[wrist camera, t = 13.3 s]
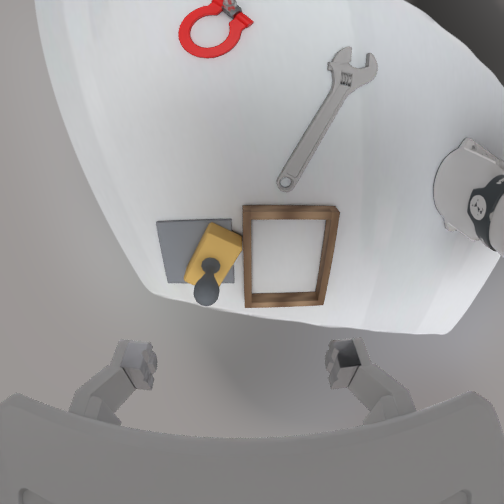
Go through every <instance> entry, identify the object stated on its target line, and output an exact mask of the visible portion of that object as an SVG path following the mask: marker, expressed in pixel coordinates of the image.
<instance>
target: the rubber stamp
mask: <svg viewBox="0 0 504 504" xmlns="http://www.w3.org/2000/svg"><path fill="white" fill-rule="evenodd" d="M241 251H242V236H240V235H238V234H236V233H234V232H232V231H230V230H228V229H225V228H223V227H221V226H219V225H217V224H215V223H213V222H211V223H209V224H208V226H207V228H206V230H205V232H204V234H203V236H202V238H201V240H200V242H199V244H198V246H197V248H196V250H195V252H194V254H193V256H192V258H191V260H190V262H189V264H188V266H187V268H186V271H185V275H184V281H185V282H188V283H190V284H192V285H195V287H194V297H195V299H196V301H197V302H198V303H199V304H201V305H203V306H209V305H212V304H213V303H215V302H216V301H217V299H218V296H219V286H220V285H221V283H222V281H223V280H224V278H225V276H226V275H227V273H228V272H229V270H230V268H231V267H232V265H233V264H234V262H235V260H236V259H237V257H238V256H239V254H240V252H241Z"/></svg>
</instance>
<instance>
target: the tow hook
mask: <svg viewBox="0 0 504 504" xmlns="http://www.w3.org/2000/svg"><path fill="white" fill-rule="evenodd" d="M222 11H223V12H225V13H226V14H228V15H229V16H230V17H232V18H233V20H232V21H231V22H229V26H230V32H229V35H228V37H227V39H226V40H225V41H224V42H223V43H221V44H220V45H218V46H215V47H211V48H203V47H200V46H197V45H196V44H194V42H193V41H192V39H191V37H190V31H191V27H192V26H193V24H194V23H195V22H196V21H197V20H198V19H200V18H202V17H204V16H208V15H218V14H219V13H220V12H222ZM253 22H254V21H252V20H251V19H250V18H248V17H247V16H246V15H245V14H243V13H242V10H241V8H240V7H239V6H238V5H237V2H236V0H212V3H211V4H210V5H208V6H203V7H201V8H198V9H196V10H194V11H192V12H191V13H189V14H188V15H187V16H186V17H185V18H184V20H183V21H182V23H181V25H180V28H179V40H180V43H181V45H182V47H183V48H184V49H185V50H186V51H187V52H189V53H190V54H192V55H194V56H197V57H200V58H214V57H218V56H221V55H224V54H225V53H227V52H229V51H230V50H231V49H232V48H233V47H234V46H235V45H236V44H237V42H238V41H239V39H240V36H241V31H242V30H243V29H245V28H247V27H249V26H250V25H252V23H253Z"/></svg>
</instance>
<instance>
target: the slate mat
mask: <svg viewBox="0 0 504 504" xmlns="http://www.w3.org/2000/svg"><path fill="white" fill-rule="evenodd" d="M211 222H213V223H215V224H217V225H219V226H221V227H223V228H225V229H228V230H230V231H232V223H231V219H207V220H176V221H157V222H156V226H157V231H158V237H159V242H160V247H161V252H162V257H163V262H164V267H165V272H166V276H167V281H168V283H188V282H185V281H184V275H185V271H186V268H187V266H188V264H189V262H190V260H191V258H192V256H193V254H194V252H195V250H196V248H197V246H198V244H199V242H200V240H201V238H202V236H203V234H204V232H205V230H206V228H207V226H208V224H209V223H211ZM222 283H234V267H233V265H232V267H231V268H230V270H229V272H228V273H227V275H226V276H225V278H224V280H223V281H222Z"/></svg>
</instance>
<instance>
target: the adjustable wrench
mask: <svg viewBox="0 0 504 504" xmlns="http://www.w3.org/2000/svg"><path fill="white" fill-rule="evenodd" d="M351 53H352V47H346V48H344V49H342V50H340V51H339V52H337V53H336V55H335V56H334V58H333V59H332V61H331V62H328V70H329V71H330V70H331V72H332V79H333V83H332V88H331V90H330V92H329V94H328V96H327V97H326V99H325V100H324V102H323V104H322V105H321V107H320V109H319V110H318V112H317V114H316V115H315V117H314V118H313V120H312V122H311V123H310V125H309V127H308V128H307V130H306V132H305V133H304V135H303V137H302V138H301V140H300V142H299V143H298V145H297V146H296V148H295V150H294V151H293V153H292V155H291V156H290V158H289V160H288V161H287V163H286V165H285V167H284V168H283V170H282V172H281V173H280V175H279V177H278V179H277V185H278V188H279V189H280V190H281V191H283V192H289V191H291V190H293V188H294V187H295V185H296V184H297V182H298V180H299V178H300V177H301V175H302V173H303V172H304V170H305V168H306V166H307V165H308V163H309V161H310V159H311V158H312V156H313V154H314V152H315V151H316V149H317V147H318V146H319V144H320V142H321V140H322V139H323V137H324V135H325V133H326V132H327V130H328V128H329V126H330V125H331V123H332V121H333V120H334V118H335V116H336V114H337V113H338V111H339V109H340V107H341V106H342V104H343V102H344V100H345V99H346V98H347V96H348V95H350V94H351V93H352V92H353V91H355V90H356V89H358V88H359V87H361V86H363V85H365V84H367V83H369V82H371V81H372V80H373V79H374V78H375V77H376V75H377V71H378V65H377V61H376V59H375V57H374V55H373V54H372V53H367V55H366V67H365V68H361V69H358V68H354V67H352V66H351V65H350V64H349V62H350V61H351ZM340 82H341V84H342V83H343V84H345V83H346V85H348V86H345V85H340ZM283 177H288V178H290V179H291V185H290V186H289V187H287V188H284V187H282V186H281V184H280V181H281V179H282V178H283Z"/></svg>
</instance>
